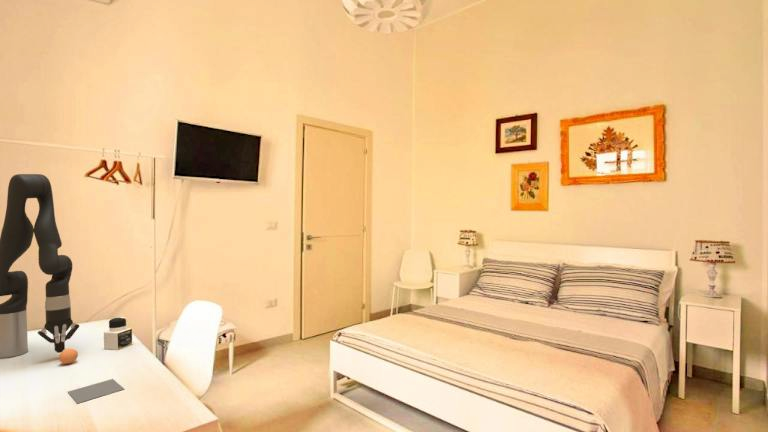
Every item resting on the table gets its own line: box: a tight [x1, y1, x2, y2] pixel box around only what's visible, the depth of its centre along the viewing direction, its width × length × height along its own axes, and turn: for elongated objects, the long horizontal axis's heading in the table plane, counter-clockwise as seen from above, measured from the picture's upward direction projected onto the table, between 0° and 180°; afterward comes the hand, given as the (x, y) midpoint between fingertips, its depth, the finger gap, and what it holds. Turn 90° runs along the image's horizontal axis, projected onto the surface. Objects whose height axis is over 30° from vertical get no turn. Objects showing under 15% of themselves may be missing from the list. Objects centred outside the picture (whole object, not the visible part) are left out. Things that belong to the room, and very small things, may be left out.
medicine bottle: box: [103, 316, 133, 351], centre depth 166 cm, size 7×7×12 cm
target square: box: [67, 378, 125, 405], centre depth 124 cm, size 12×12×1 cm
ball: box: [58, 348, 79, 365], centre depth 148 cm, size 6×6×6 cm
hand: (59, 351), depth 153 cm, fingers closed
